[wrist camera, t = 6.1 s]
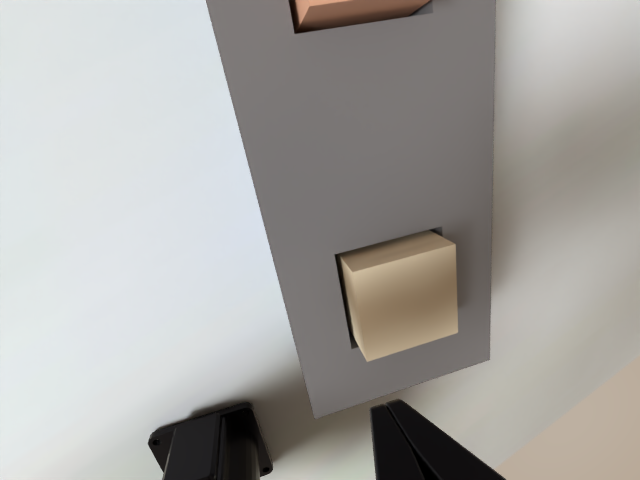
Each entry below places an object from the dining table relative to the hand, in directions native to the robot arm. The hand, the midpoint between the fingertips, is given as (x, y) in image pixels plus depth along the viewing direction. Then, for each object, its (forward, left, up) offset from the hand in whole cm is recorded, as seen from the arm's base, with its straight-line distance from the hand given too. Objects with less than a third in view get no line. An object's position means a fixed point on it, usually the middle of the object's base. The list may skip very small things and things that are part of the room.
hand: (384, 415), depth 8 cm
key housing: (+6, -3, -11) cm, 13 cm away
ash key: (-1, -3, -9) cm, 9 cm away
